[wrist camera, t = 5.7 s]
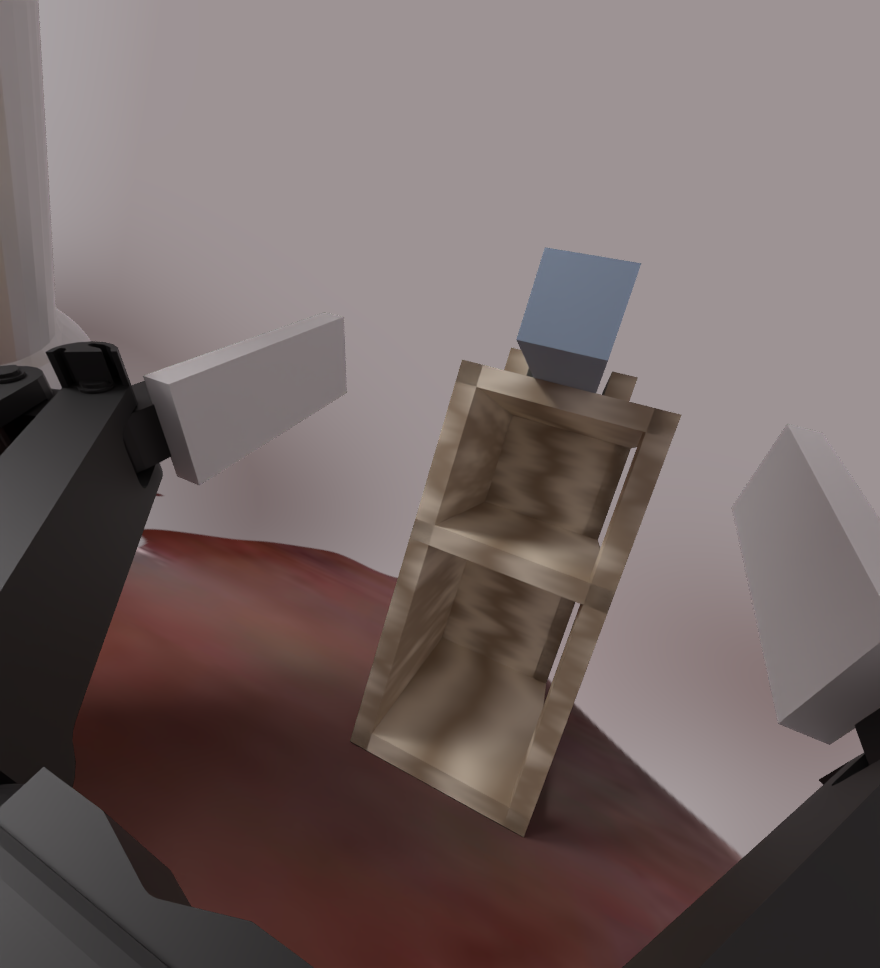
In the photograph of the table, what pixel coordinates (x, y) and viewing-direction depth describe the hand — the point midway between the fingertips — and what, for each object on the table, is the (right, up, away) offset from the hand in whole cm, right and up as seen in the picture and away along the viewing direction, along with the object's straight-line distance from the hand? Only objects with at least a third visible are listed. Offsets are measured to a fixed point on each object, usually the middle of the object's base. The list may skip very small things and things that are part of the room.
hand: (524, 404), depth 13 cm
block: (+6, +4, +18) cm, 19 cm away
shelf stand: (0, -24, +28) cm, 37 cm away
